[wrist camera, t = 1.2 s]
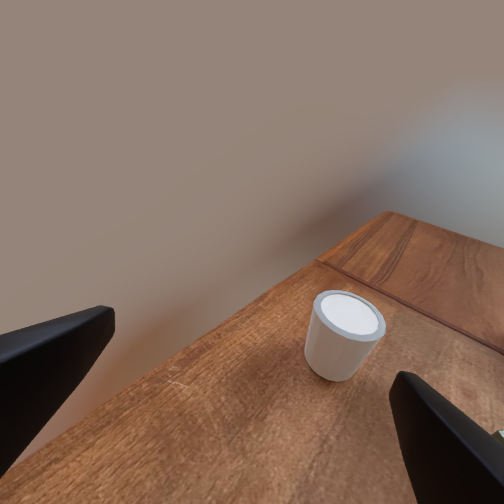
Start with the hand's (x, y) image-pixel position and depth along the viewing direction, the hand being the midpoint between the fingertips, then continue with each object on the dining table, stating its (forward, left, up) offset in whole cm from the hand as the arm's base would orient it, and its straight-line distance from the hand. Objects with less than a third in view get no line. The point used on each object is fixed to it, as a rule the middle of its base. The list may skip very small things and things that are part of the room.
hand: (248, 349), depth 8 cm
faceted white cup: (+12, -12, -17) cm, 24 cm away
